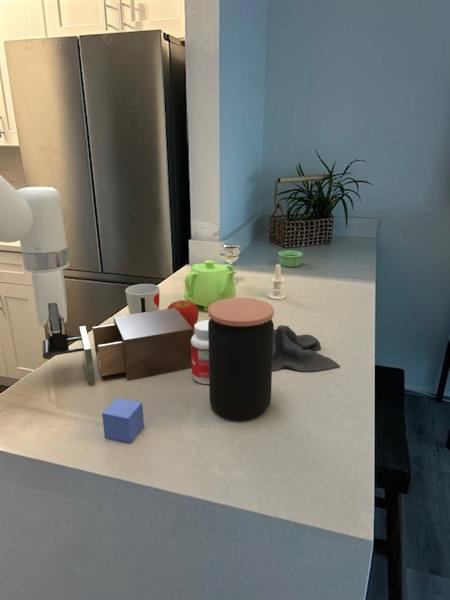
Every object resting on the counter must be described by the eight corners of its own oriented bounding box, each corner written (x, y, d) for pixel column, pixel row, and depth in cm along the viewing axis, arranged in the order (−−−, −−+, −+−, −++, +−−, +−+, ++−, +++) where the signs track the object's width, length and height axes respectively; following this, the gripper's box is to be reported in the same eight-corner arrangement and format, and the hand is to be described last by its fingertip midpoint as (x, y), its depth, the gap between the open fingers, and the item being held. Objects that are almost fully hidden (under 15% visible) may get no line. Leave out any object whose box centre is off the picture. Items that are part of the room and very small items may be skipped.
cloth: (226, 366, 88) (226, 339, 86) (246, 331, 105) (247, 307, 103) (339, 381, 82) (342, 352, 80) (341, 341, 99) (343, 316, 97)
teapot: (244, 298, 127) (245, 256, 123) (236, 315, 114) (237, 269, 110) (192, 294, 130) (191, 253, 126) (178, 311, 117) (176, 266, 113)
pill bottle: (195, 368, 87) (194, 317, 84) (225, 370, 87) (225, 319, 83) (188, 384, 82) (186, 330, 78) (220, 386, 81) (220, 332, 77)
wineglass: (216, 281, 143) (215, 245, 139) (233, 277, 146) (233, 243, 142) (227, 286, 137) (227, 249, 133) (244, 282, 141) (245, 246, 137)
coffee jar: (277, 394, 78) (281, 301, 72) (259, 429, 69) (262, 325, 63) (223, 383, 82) (222, 294, 76) (199, 414, 72) (196, 315, 66)
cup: (140, 336, 102) (136, 296, 98) (122, 326, 107) (119, 288, 104) (168, 327, 107) (166, 289, 104) (150, 318, 113) (147, 281, 109)
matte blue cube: (104, 437, 67) (101, 413, 65) (119, 421, 71) (117, 397, 69) (130, 443, 66) (128, 418, 64) (144, 426, 70) (142, 402, 68)
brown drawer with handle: (47, 390, 78) (41, 356, 76) (46, 362, 88) (41, 332, 86) (154, 369, 85) (151, 338, 83) (142, 346, 95) (139, 317, 93)
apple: (165, 337, 101) (163, 306, 99) (169, 324, 109) (167, 295, 106) (197, 337, 101) (197, 306, 98) (200, 324, 108) (199, 295, 106)
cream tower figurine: (285, 294, 130) (287, 260, 126) (286, 300, 125) (287, 265, 122) (268, 293, 131) (269, 260, 127) (268, 299, 126) (269, 265, 122)
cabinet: (127, 380, 83) (123, 340, 80) (117, 353, 94) (113, 316, 91) (194, 367, 88) (193, 328, 85) (177, 342, 99) (175, 307, 96)
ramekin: (291, 269, 156) (291, 257, 154) (273, 264, 162) (273, 253, 161) (307, 265, 161) (307, 253, 160) (288, 260, 168) (289, 249, 166)
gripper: (24, 251, 82) (39, 339, 88) (21, 272, 69) (39, 373, 75) (66, 248, 84) (77, 333, 90) (71, 267, 71) (83, 365, 77)
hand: (60, 351), depth 83 cm, fingers closed
